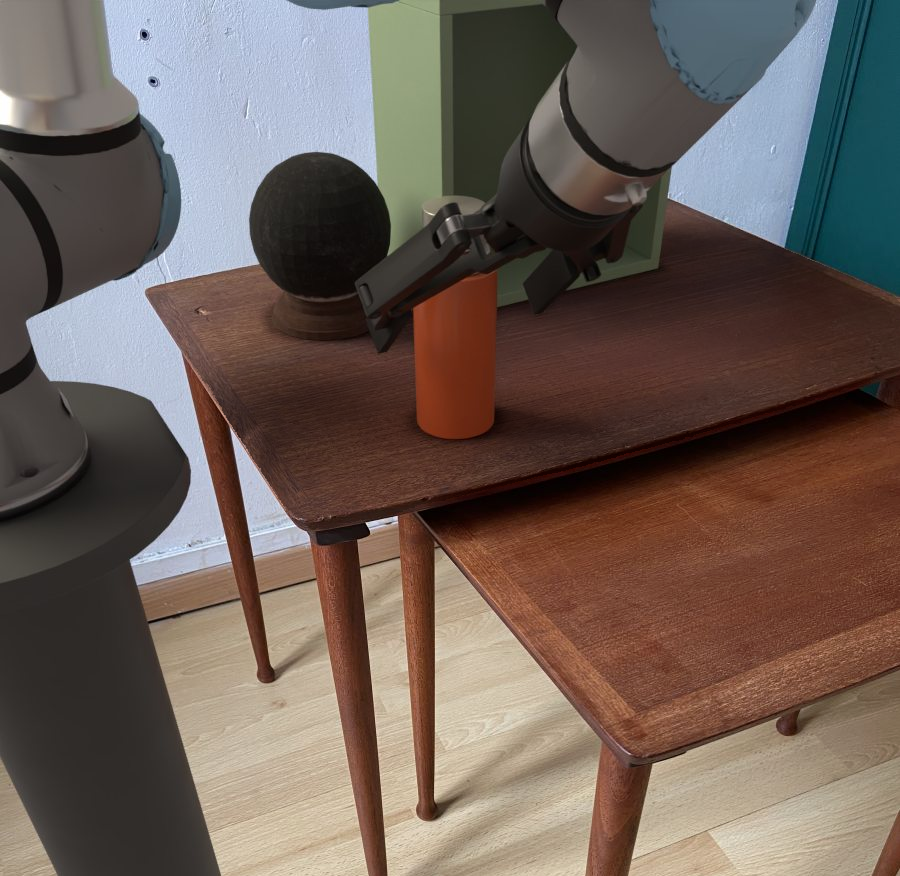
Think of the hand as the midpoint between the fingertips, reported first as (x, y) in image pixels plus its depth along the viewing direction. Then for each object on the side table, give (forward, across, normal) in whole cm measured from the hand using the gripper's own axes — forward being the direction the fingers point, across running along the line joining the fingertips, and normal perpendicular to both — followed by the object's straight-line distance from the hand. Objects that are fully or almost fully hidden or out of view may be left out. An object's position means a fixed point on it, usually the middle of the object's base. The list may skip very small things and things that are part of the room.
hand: (456, 316), depth 73 cm
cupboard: (+24, +21, +11) cm, 34 cm away
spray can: (+7, 0, -6) cm, 9 cm away
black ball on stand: (+24, -1, +11) cm, 26 cm away
